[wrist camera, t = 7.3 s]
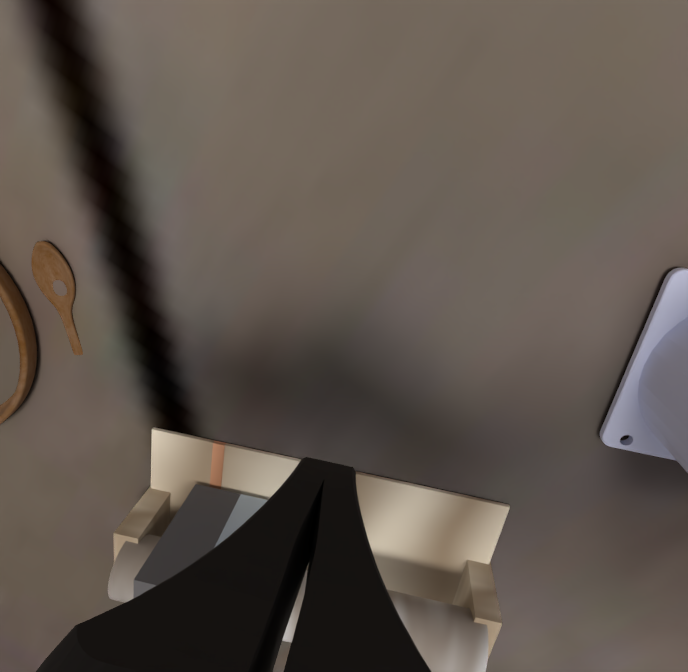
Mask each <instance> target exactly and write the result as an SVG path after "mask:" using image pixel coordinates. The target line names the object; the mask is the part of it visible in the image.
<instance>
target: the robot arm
mask: <svg viewBox="0 0 688 672" xmlns="http://www.w3.org/2000/svg"><path fill="white" fill-rule="evenodd" d="M624 435H629V437H628V438H627V439H626V440H620V439H621V437H622V436H624ZM600 438H601V440H602V441H603V443H604V444H605V445H607V446H609V447H613V448H618V449H623V450H628V451H633V452H637V453H642V454H647V455H652V456H657V457H661V458H666V459H671V460H676V461H678V463H679V464H680V465H681V466H682V467H683V468H684V470H685V471H686V472H687V473H688V268H676V269H673V270H672V271H670V272H669V273H668V274H667V276H666V277H665V279H664V282H663V284H662V286H661V289H660V291H659V293H658V296H657V298H656V301H655V303H654V305H653V308H652V310H651V312H650V315H649V317H648V319H647V322H646V324H645V326H644V329H643V331H642V334H641V336H640V338H639V341H638V343H637V345H636V348H635V350H634V352H633V355H632V357H631V359H630V362H629V364H628V367H627V369H626V371H625V374H624V376H623V378H622V381H621V383H620V385H619V388H618V390H617V392H616V395H615V397H614V400H613V402H612V404H611V407H610V409H609V411H608V414H607V416H606V418H605V421H604V423H603V425H602V428H601V430H600ZM308 563H309V565H308ZM307 566H308V572H307V579H306V586H305V593H304V598H303V602H302V605H301V609H300V613H299V617H298V621H297V624H296V628H295V632H294V636H293V640H292V643H291V647H290V651H289V654H288V658H287V662H286V665H285V669H284V672H431V670H430V668H429V667H428V665H427V664H426V662H425V661H424V659H423V657H422V656H421V654H420V653H419V651H418V649H417V647H416V645H415V644H414V642H413V640H412V638H411V636H410V635H409V633H408V631H407V629H406V627H405V626H404V624H403V622H402V620H401V618H400V616H399V614H398V612H397V610H396V608H395V606H394V604H393V602H392V600H391V598H390V596H389V593H388V591H387V589H386V587H385V584H384V582H383V580H382V577H381V575H380V572H379V570H378V567H377V564H376V562H375V559H374V556H373V553H372V550H371V547H370V544H369V541H368V537H367V534H366V530H365V526H364V523H363V519H362V515H361V511H360V506H359V500H358V495H357V487H356V471H355V470H354V468H353V467H349V466H344V465H340V464H335V463H331V462H326V461H321V460H317V459H312V458H308V457H305V458H304V459H302V460H301V461H300V462H299V464H298V465H297V467H296V468H295V469H294V471H293V472H292V473H291V475H290V476H289V477H288V478H287V480H286V481H285V482H284V483H283V484H282V486H281V487H280V488H279V489H278V490H277V491H276V492H275V493H274V494H273V495H272V496H271V497H270V499H269V500H268V501H267V502H266V503H265V504H264V505H263V506H262V507H261V508H260V509H259V510H258V511H257V512H256V513H254V514H253V515H252V516H251V517H250V518H249V519H248V520H247V521H246V522H245V523H244V524H243V525H242V526H240V527H239V528H238V529H237V530H236V531H235V532H233V533H232V534H231V535H230V536H229V537H227V538H226V539H225V540H224V541H222V542H221V543H220V544H219V545H217V546H216V547H215V548H213V549H212V550H211V551H209V552H208V553H207V554H205V555H204V556H202V557H201V558H199V559H198V560H196V561H195V562H194V563H192V564H191V565H189V566H188V567H186V568H185V569H183V570H182V571H180V572H179V573H177V574H175V575H174V576H172V577H171V578H169V579H167V580H165V581H164V582H162V583H160V584H158V585H156V586H155V587H153V588H151V589H149V590H148V591H146V592H144V593H142V594H141V595H139V596H137V597H135V598H133V599H132V600H130V601H128V602H126V603H124V604H122V605H119V606H117V607H115V608H113V609H111V610H109V611H107V612H104V613H102V614H100V615H98V616H96V617H94V618H92V619H90V620H87V621H85V622H83V623H80V624H78V625H76V626H75V627H74V628H73V629H72V630H71V631H70V632H69V633H68V635H67V636H66V637H65V638H64V639H63V640H62V641H61V642H60V643H59V645H58V646H57V647H56V648H55V649H54V650H53V651H52V653H51V654H50V655H49V656H48V657H47V658H46V659H45V661H44V662H43V663H42V664H41V666H40V667H39V668H38V670H37V671H36V672H273V668H274V664H275V661H276V658H277V655H278V651H279V648H280V645H281V642H282V639H283V636H284V633H285V630H286V628H287V625H288V622H289V619H290V616H291V613H292V610H293V607H294V604H295V601H296V598H297V596H298V593H299V590H300V587H301V584H302V581H303V578H304V575H305V572H306V569H307Z"/></svg>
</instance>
